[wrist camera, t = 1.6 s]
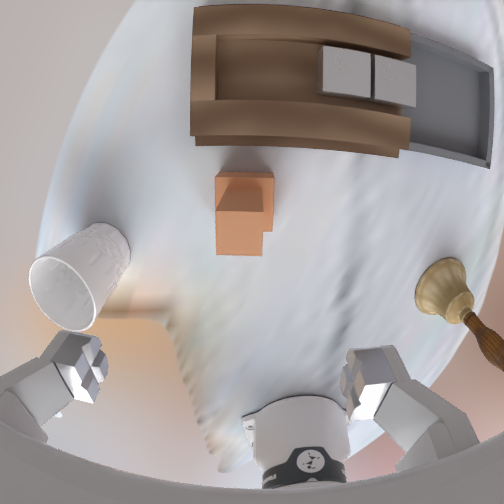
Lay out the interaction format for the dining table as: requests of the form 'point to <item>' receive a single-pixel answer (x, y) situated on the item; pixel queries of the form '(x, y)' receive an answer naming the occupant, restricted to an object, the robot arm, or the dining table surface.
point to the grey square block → (392, 82)
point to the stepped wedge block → (243, 211)
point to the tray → (451, 104)
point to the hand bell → (456, 305)
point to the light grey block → (343, 73)
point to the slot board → (287, 80)
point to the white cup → (79, 275)
